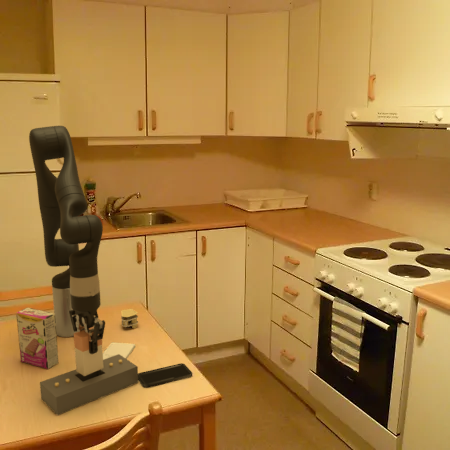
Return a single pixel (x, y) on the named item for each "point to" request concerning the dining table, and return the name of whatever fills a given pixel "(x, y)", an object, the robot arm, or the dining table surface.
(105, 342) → the dining table surface
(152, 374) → the phone
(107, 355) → the external hard drive
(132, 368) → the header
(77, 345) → the plug
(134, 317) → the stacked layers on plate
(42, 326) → the candy bar box
